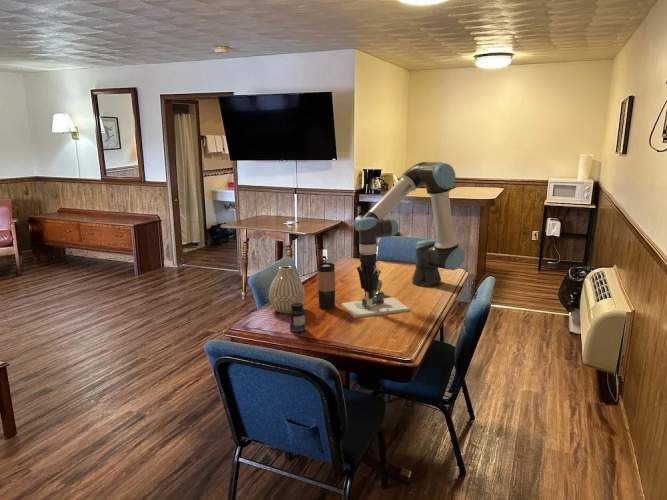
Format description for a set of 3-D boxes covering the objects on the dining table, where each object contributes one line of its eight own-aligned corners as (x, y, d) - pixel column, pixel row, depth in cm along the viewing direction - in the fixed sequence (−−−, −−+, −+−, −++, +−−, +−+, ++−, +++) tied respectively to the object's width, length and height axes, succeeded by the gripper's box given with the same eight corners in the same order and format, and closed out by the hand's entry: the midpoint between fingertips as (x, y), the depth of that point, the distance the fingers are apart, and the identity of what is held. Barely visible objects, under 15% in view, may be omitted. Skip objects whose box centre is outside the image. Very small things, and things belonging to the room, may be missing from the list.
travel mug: (337, 305, 222) (337, 263, 218) (332, 310, 215) (331, 267, 211) (322, 303, 225) (321, 262, 221) (316, 309, 218) (315, 266, 214)
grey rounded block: (379, 299, 223) (379, 289, 222) (386, 302, 220) (386, 291, 219) (360, 305, 215) (360, 295, 214) (367, 308, 212) (367, 297, 211)
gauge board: (393, 299, 230) (393, 296, 229) (409, 311, 214) (409, 307, 213) (341, 305, 222) (341, 302, 222) (353, 317, 206) (353, 314, 206)
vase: (277, 318, 206) (275, 273, 202) (264, 308, 220) (262, 265, 216) (310, 312, 214) (309, 268, 209) (296, 302, 227) (295, 261, 223)
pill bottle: (290, 327, 196) (289, 302, 194) (305, 327, 197) (304, 301, 194) (290, 333, 190) (289, 307, 188) (305, 333, 190) (304, 306, 188)
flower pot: (381, 298, 231) (381, 284, 230) (360, 297, 233) (360, 283, 232) (383, 292, 241) (383, 278, 239) (363, 291, 243) (363, 277, 241)
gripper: (384, 253, 207) (385, 306, 212) (364, 249, 217) (365, 300, 221) (372, 256, 202) (373, 310, 207) (351, 252, 212) (353, 303, 217)
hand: (369, 305), depth 214 cm, fingers closed
